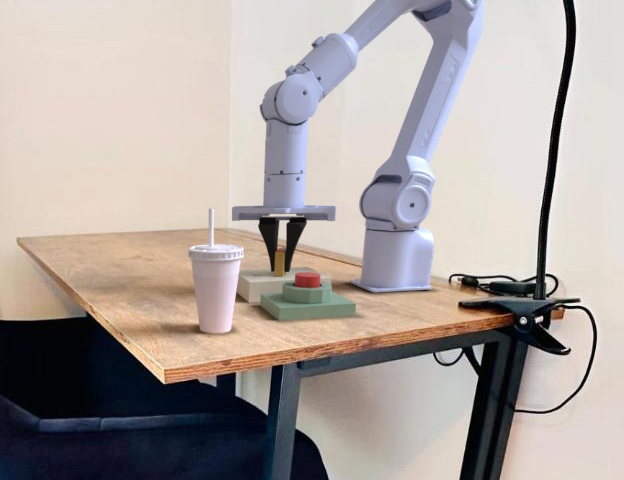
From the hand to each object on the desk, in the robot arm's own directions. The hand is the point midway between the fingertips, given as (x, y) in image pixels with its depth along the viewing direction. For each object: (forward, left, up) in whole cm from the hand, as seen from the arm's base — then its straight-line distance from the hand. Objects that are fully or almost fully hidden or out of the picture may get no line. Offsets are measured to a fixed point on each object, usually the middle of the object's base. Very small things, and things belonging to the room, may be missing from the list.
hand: (280, 270), depth 82 cm
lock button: (0, +10, 0) cm, 11 cm away
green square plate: (0, +11, -3) cm, 11 cm away
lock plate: (0, 0, -3) cm, 3 cm away
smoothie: (+13, +16, -4) cm, 22 cm away
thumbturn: (0, 0, 0) cm, 0 cm away
